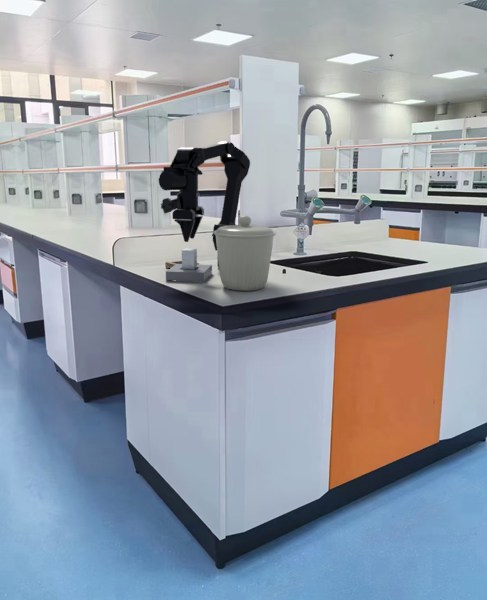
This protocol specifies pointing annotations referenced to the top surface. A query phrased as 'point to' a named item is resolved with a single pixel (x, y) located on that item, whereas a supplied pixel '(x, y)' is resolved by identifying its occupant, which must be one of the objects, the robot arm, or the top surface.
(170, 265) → the walnut stand collar
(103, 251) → the top surface
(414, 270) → the top surface
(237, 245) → the canister
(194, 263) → the steel key peg
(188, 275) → the grey flat block
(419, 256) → the top surface
